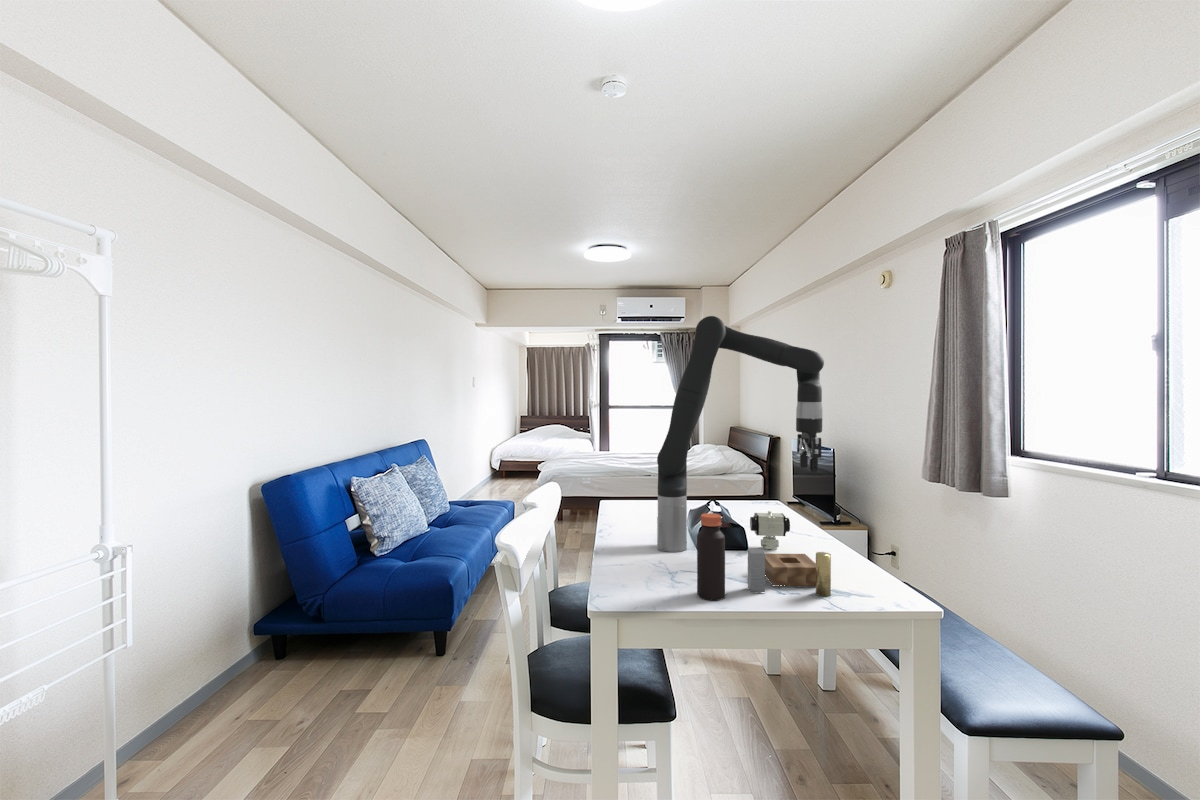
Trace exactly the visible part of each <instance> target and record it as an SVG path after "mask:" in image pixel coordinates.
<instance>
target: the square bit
mask: <svg viewBox="0 0 1200 800" xmlns="http://www.w3.org/2000/svg"><path fill="white" fill-rule="evenodd" d="M765 554H766V553H765V552H764V551H763V549H762V548H761V549H760V548H759V549H756V548H754V549H752V548H751V549H750V548H748V549H747V589H748V588H749V589H748V591H749V590H750V591H749V592H750V593H751V592H765V593H766V576H765Z"/></svg>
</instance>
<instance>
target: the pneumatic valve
mask: <svg viewBox="0 0 1200 800" xmlns="http://www.w3.org/2000/svg"><path fill="white" fill-rule="evenodd" d="M749 528H750V531H751V532H754V534H755V535H756V536H761V537H762V539H760V546H761V547H762V548H763V549H764V550H765V549H776V550H777V549H778V548H779V547H780V546H779V545H780V544H779V543H780V542H779V539H776V537H786V534H787V533H789V532H790V531H791V521H790V518H789V517H786V515H785V514H784V513H778V512H776V513H775V512H772V510H768V511H767V512H754V515H753V516H750V518H749Z"/></svg>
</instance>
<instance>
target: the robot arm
mask: <svg viewBox="0 0 1200 800" xmlns="http://www.w3.org/2000/svg"><path fill="white" fill-rule="evenodd" d="M694 332H695V334H694V340H693V344H692V350H691V354H690V356H689V358H688V362H687V364H686V366H685V369H684V372H683V374H682V376H681V378H680V382H679V384H678V388H677V391H676V395H675V397H674V402H673V406H672V411H671V416H670V421H669V422H670V424H669V428H668V431H667V433H666V437H665V439H664V442H663V444H662V446H661V449H659V452H658V454H657V458H656V462H657V463H656V464H657V517H656V524H657V525H656V526H657V527H656V531H657V532H656V538H657V541H656V542H657V543H656V545H657V550H658V551H664V552H667V553H668V552H670V553H676V552H683V551H686V550H687V548H688V547H687V546H688V541H687V540H688V537H687V535H688V533H687V531H688V528H687V527H688V524H687V523H688V519H687V518H688V517H687V516H688V512H687V509H688V506H687V505H688V504H687V503H688V502H687V498H688V496H687V495H688V494H687V493H688V492H687V491H688V490H687V489H688V488H687V487H688V486H687V485H688V482H687V481H688V480H687V479H688V477H687V475H688V474H687V473H688V472H687V470H688V469H687V468H688V467H687V465H688V464H687V463H688V462H687V461H688V460H687V459H688V458H687V457H688V453H689V447H690V443H691V439H692V435H693V433H694V430H695V429H696V426H697V424H698V422H699V419H700V416H701V414H702V412H703V408H704V406H705V402H706V399H707V395H708V393H709V392H708V391H709V387H710V383H711V378H712V370H713V367H714V366H713V365H714V361H715V359H716V356H717V354H718V351H719V349H725V350H729V351H733V352H737V353H739V354H740V353H741V354H744V355H746V356H749V357H752V358H755V359H758V360H761V361H764V362H767V363H771V364H774V365H777V366H780V367H787V368H790V369H793V370H795V371H796V380H797V393H796V394H797V396H796V397H797V399H796V400H797V402H796V403H797V404H796V410H795V411H796V413H795V414H796V415H795V419H796V420H795V430H796V432H797V435H796V436H797V439H796V440H797V441H796V443H797V444H796V445H797V446H796V452H797V453H798V455H799V467H800V468H802V469H805V468H808V467H809V470H808V471H809V472H811V473H817V472H818V467H819V465H818V463H819V460H820V459H821V458H822V438H821V437H818V436H817V434H821V433H822V432H823V403H822V401H823V397H822V396H823V389H822V385H821V383H820V382H821V381H820V380H821V379H820V377H821V375H820V372H821V371H822V370H823V368H824V366H825V360H824V358H823V356H822V355H821V353H820V352H818V351H814V350H812V349H808V348H804V347H800V346H794V345H791V344H788V343H785V342H782V341H780V340H777V339H773V338H769V337H766V336H765V337H764V336H759V335H754V334H753V335H752V334H748V333H745V332H741V331H738V330H736V329H733V328H730V327H728V326H727V325H725V324H724V322H723V320H722V319H720V318H719V317H717V316H715V315H710V316H705V317H703V318H702V319H700V321H699V322H698V323H697V325H696V326H695V331H694ZM808 464H809V466H808Z"/></svg>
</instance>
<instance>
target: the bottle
mask: <svg viewBox="0 0 1200 800" xmlns="http://www.w3.org/2000/svg"><path fill="white" fill-rule="evenodd" d="M700 526H701V528H702V529H701V530H700V531H699V532H698V533H697V535H696V578H697V580H696V581H697V582H696V584H697V585H696V586H697V587H696V592H697V593H696V594H697V597H699V598H701V599H703V600H706V601H719V600H722V599H724V598H725V596H726V537H725V534H724V533H723V532H722V531H721V529H720V528H721V526H722V515H720V514H718V513H712V512H711V513H709V512H707V513H701V515H700Z"/></svg>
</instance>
